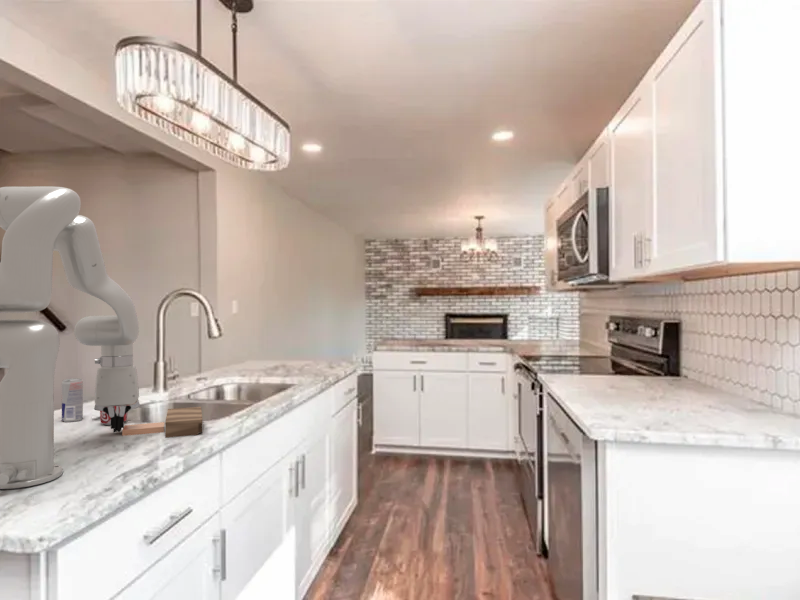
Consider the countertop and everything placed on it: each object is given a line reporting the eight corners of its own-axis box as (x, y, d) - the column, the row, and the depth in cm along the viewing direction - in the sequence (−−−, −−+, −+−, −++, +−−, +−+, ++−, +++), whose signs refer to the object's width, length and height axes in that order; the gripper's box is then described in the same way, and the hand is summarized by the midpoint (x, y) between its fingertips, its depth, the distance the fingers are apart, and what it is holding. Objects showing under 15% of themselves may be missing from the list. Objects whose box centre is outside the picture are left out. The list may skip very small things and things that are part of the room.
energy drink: (70, 418, 162) (70, 378, 162) (87, 418, 162) (87, 378, 162) (57, 422, 157) (57, 380, 157) (73, 422, 156) (73, 381, 156)
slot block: (202, 434, 142) (202, 419, 142) (165, 437, 139) (165, 422, 139) (201, 420, 159) (201, 406, 159) (168, 422, 156) (168, 409, 156)
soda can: (94, 425, 153) (94, 382, 153) (115, 419, 160) (114, 379, 160) (112, 427, 151) (112, 384, 151) (133, 421, 157) (133, 380, 157)
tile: (163, 434, 145) (163, 426, 145) (122, 437, 141) (122, 430, 141) (164, 429, 151) (164, 422, 151) (124, 432, 147) (124, 425, 147)
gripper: (82, 365, 137) (82, 437, 137) (147, 362, 142) (147, 431, 142) (87, 361, 144) (87, 430, 144) (149, 359, 149) (149, 425, 149)
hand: (117, 431), depth 143 cm, fingers closed
